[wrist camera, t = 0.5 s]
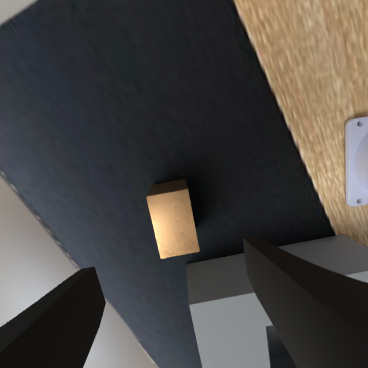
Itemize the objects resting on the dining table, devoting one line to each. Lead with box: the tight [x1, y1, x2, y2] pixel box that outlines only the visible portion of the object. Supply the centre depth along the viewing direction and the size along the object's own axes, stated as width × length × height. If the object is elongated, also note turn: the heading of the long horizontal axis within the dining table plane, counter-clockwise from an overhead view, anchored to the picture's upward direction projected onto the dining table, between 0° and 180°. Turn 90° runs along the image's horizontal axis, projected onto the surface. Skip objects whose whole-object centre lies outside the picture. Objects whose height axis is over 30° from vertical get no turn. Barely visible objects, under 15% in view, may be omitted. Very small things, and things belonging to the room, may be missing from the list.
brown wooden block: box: [147, 179, 199, 259], centre depth 16 cm, size 3×5×4 cm, turn 10°
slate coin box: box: [186, 234, 368, 368], centre depth 19 cm, size 16×14×5 cm
